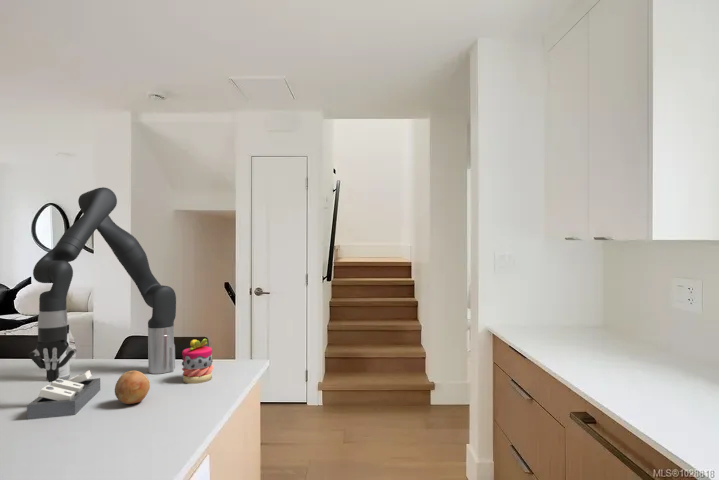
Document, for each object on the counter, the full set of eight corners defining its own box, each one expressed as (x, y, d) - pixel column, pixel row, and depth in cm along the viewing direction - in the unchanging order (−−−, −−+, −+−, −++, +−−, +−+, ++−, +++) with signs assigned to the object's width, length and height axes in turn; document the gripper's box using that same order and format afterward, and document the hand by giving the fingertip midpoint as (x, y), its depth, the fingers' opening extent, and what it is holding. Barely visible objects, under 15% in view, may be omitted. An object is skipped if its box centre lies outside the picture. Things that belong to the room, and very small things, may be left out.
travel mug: (60, 381, 166) (60, 326, 167) (45, 380, 168) (44, 326, 168) (74, 376, 173) (74, 323, 173) (59, 376, 174) (59, 323, 174)
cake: (175, 382, 163) (175, 340, 163) (196, 374, 173) (196, 334, 173) (199, 385, 159) (198, 341, 159) (219, 376, 169) (218, 336, 169)
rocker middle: (81, 390, 145) (84, 384, 146) (77, 394, 141) (79, 388, 141) (54, 384, 144) (57, 377, 144) (49, 388, 139) (51, 381, 139)
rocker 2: (91, 375, 153) (89, 369, 153) (87, 379, 149) (84, 373, 148) (66, 385, 151) (63, 380, 151) (61, 389, 147) (58, 383, 146)
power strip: (107, 382, 164) (107, 371, 164) (75, 414, 132) (74, 400, 132) (70, 385, 161) (69, 374, 161) (27, 419, 129) (27, 405, 129)
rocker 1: (73, 398, 138) (75, 391, 138) (67, 403, 134) (70, 395, 134) (44, 391, 136) (47, 384, 136) (38, 396, 132) (41, 388, 132)
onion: (157, 399, 144) (157, 367, 145) (132, 410, 135) (131, 376, 135) (133, 396, 148) (133, 365, 148) (107, 407, 138) (106, 373, 138)
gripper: (81, 322, 147) (80, 376, 147) (33, 324, 144) (33, 379, 144) (72, 326, 140) (72, 383, 139) (22, 328, 137) (22, 386, 136)
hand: (52, 381), depth 141 cm, fingers closed
